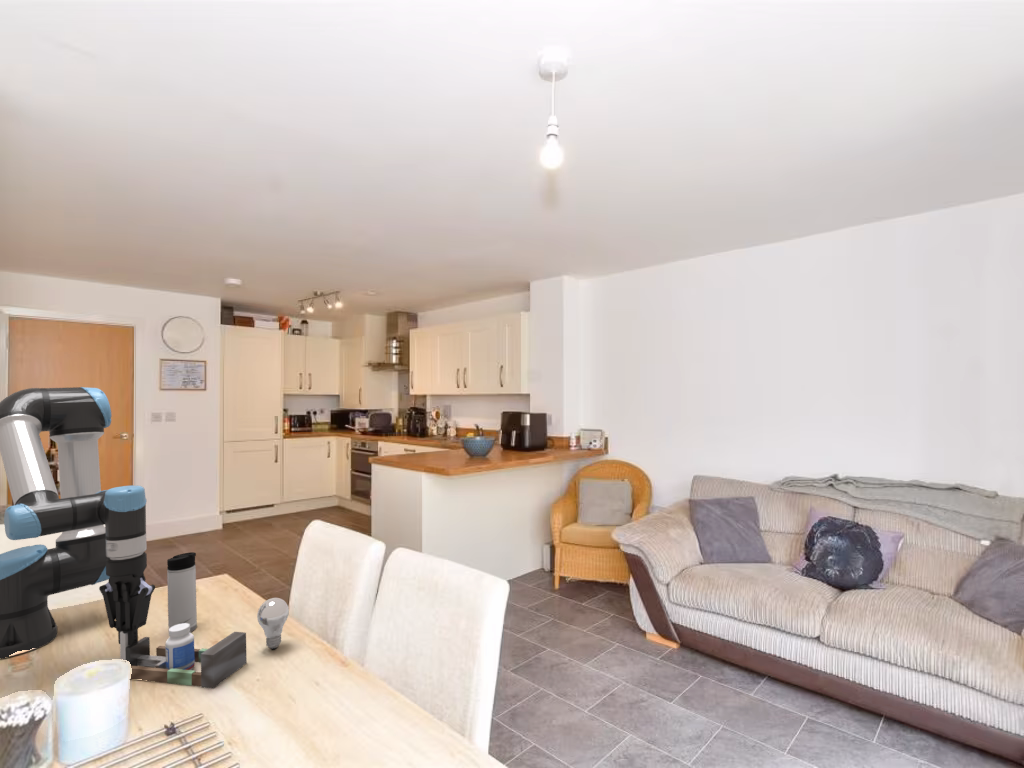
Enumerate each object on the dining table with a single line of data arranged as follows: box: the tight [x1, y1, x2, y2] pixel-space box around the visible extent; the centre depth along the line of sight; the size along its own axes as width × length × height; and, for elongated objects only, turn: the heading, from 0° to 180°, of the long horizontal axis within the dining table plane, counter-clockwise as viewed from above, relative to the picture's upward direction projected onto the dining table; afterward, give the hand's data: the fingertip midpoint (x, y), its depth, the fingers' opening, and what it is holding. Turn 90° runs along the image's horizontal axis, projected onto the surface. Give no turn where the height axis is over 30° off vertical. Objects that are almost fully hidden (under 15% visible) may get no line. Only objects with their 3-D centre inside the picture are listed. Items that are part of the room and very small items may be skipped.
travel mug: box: [166, 551, 198, 633], centre depth 136 cm, size 6×7×20 cm
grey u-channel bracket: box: [125, 636, 166, 669], centre depth 117 cm, size 9×6×5 cm, turn 79°
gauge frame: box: [130, 631, 248, 689], centre depth 116 cm, size 23×10×7 cm, turn 79°
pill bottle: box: [164, 623, 196, 670], centre depth 116 cm, size 6×5×10 cm
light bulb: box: [256, 597, 290, 650], centre depth 125 cm, size 7×7×12 cm
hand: (128, 658), depth 118 cm, fingers closed
